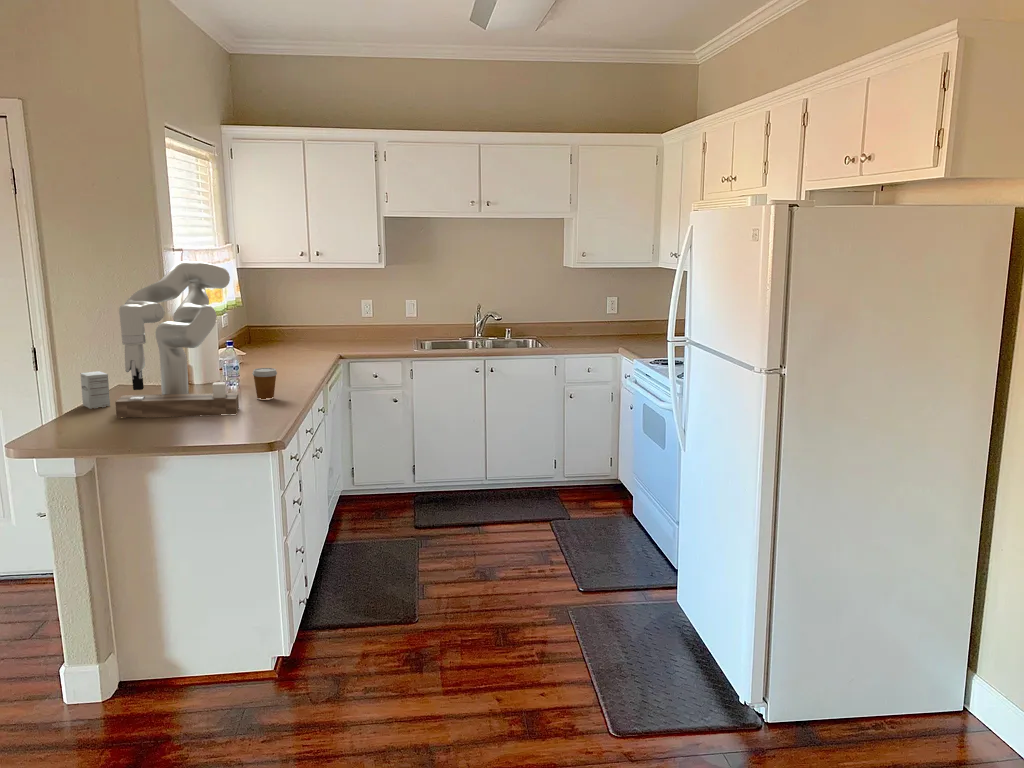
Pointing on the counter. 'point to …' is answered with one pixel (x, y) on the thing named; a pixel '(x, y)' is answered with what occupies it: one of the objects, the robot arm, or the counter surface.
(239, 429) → the counter surface
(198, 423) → the counter surface
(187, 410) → the walnut block
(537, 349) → the counter surface
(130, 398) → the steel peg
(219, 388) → the white peg
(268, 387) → the disposable coffee cup
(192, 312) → the robot arm
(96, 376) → the supplement box
